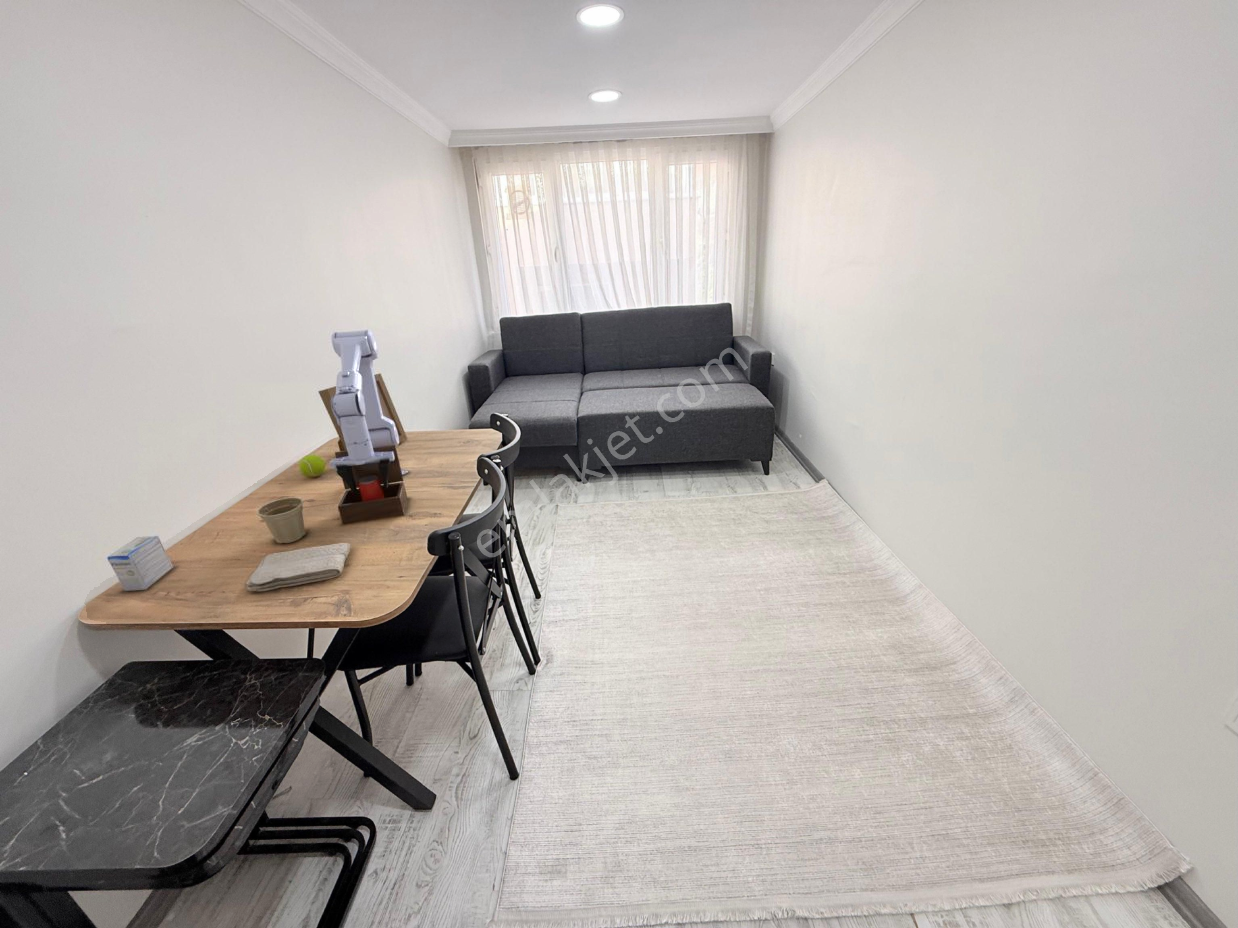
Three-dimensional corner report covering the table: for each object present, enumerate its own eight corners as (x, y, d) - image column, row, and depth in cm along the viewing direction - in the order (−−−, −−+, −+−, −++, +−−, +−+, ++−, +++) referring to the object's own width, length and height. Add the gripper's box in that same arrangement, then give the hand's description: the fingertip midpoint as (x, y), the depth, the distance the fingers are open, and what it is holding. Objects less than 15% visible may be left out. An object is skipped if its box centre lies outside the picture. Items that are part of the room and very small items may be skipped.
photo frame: (408, 441, 181) (393, 374, 171) (360, 464, 162) (340, 390, 152) (377, 437, 186) (360, 372, 176) (327, 459, 167) (306, 387, 157)
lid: (395, 445, 131) (395, 444, 131) (334, 452, 127) (335, 452, 128) (403, 481, 135) (403, 480, 135) (345, 489, 131) (345, 488, 132)
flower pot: (322, 530, 123) (312, 499, 120) (288, 550, 115) (276, 518, 112) (294, 525, 126) (284, 495, 123) (259, 544, 118) (247, 513, 115)
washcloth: (266, 563, 110) (261, 552, 109) (353, 548, 115) (350, 537, 114) (245, 596, 100) (240, 583, 99) (342, 577, 104) (339, 565, 103)
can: (361, 511, 130) (352, 481, 127) (378, 502, 134) (370, 473, 131) (373, 515, 128) (365, 484, 124) (390, 506, 132) (383, 476, 128)
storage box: (404, 515, 129) (399, 497, 127) (343, 524, 125) (337, 506, 123) (407, 499, 137) (403, 481, 135) (350, 507, 134) (345, 490, 132)
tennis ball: (313, 482, 151) (307, 461, 148) (297, 479, 153) (290, 458, 150) (333, 472, 156) (327, 452, 154) (317, 470, 159) (310, 450, 156)
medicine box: (153, 569, 110) (136, 536, 107) (174, 567, 110) (158, 534, 107) (124, 591, 103) (105, 557, 99) (146, 590, 103) (128, 555, 100)
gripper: (321, 449, 118) (336, 500, 123) (386, 441, 121) (398, 491, 127) (328, 440, 124) (343, 488, 130) (390, 432, 128) (401, 480, 133)
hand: (370, 489), depth 129 cm, fingers open, 7 cm apart
